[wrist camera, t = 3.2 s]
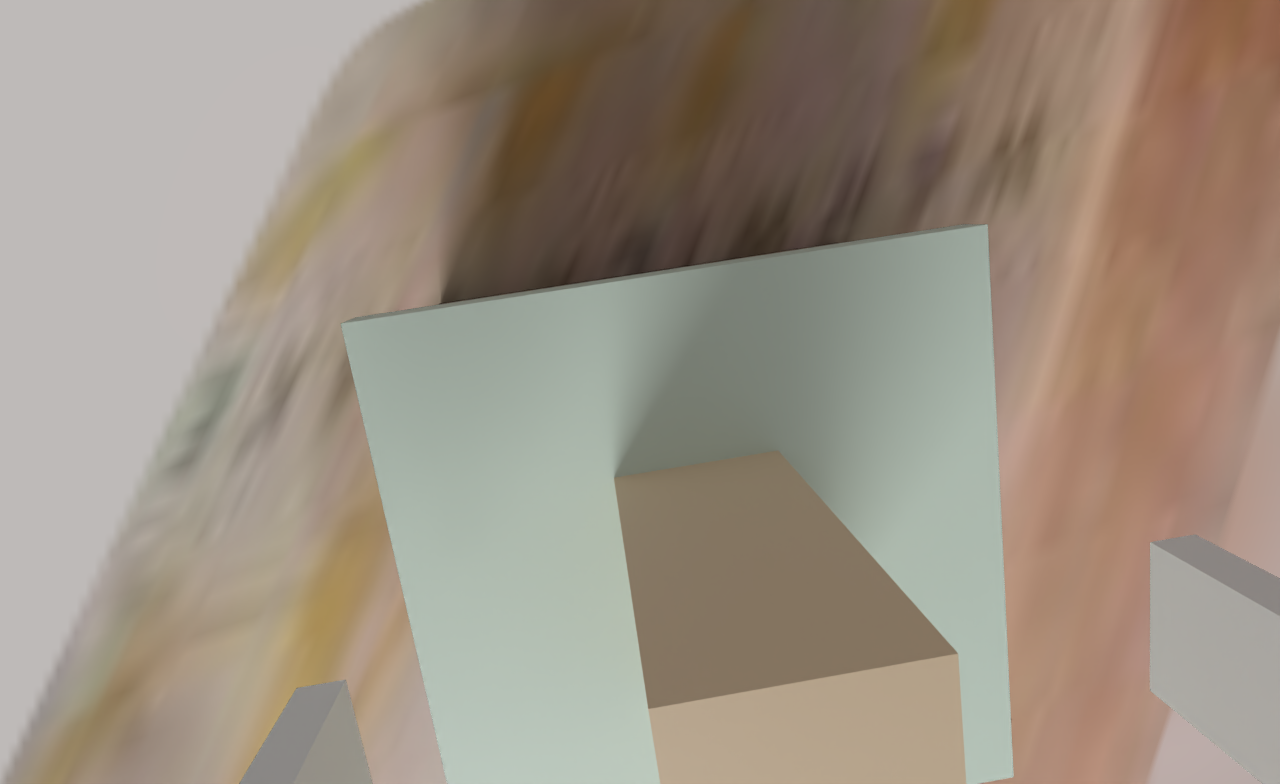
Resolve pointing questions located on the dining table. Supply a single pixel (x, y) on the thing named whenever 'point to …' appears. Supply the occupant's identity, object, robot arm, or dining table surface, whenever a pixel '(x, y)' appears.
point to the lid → (705, 519)
